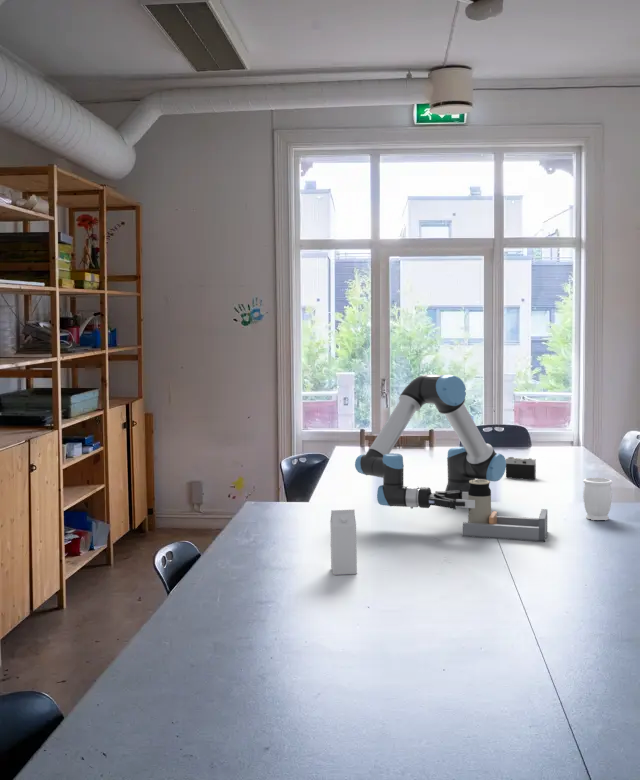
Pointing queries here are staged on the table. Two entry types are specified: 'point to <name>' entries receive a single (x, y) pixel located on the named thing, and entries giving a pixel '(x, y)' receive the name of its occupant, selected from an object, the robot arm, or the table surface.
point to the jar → (597, 498)
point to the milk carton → (343, 542)
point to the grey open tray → (510, 528)
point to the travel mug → (479, 501)
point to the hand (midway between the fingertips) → (477, 500)
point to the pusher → (493, 518)
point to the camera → (521, 468)
